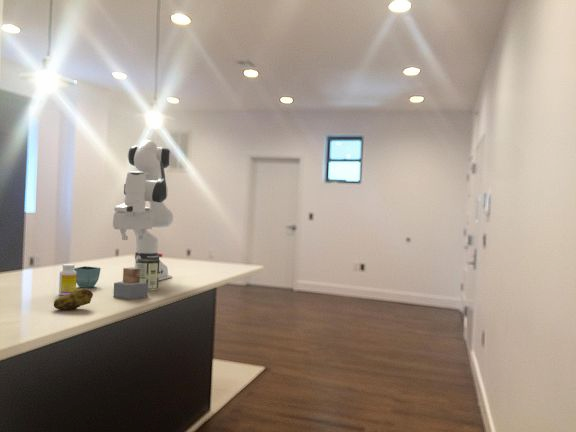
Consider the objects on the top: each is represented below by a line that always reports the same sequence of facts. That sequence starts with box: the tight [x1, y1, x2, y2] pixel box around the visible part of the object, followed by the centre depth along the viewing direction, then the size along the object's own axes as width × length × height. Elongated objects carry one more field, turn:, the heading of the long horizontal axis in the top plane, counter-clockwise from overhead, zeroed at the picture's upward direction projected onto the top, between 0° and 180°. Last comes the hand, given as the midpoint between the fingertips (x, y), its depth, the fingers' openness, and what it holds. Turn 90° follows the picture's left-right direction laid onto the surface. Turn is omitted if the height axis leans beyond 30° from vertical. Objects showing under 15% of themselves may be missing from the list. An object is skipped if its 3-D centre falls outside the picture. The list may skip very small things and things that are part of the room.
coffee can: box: [137, 259, 161, 292], centre depth 235 cm, size 10×10×14 cm
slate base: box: [112, 280, 149, 301], centre depth 214 cm, size 10×10×6 cm
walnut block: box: [122, 266, 140, 283], centre depth 214 cm, size 5×5×6 cm
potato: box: [53, 287, 94, 311], centre depth 184 cm, size 8×13×8 cm, turn 99°
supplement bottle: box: [58, 263, 77, 296], centre depth 211 cm, size 7×7×13 cm
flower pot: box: [74, 266, 102, 289], centre depth 232 cm, size 9×9×9 cm
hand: (133, 239), depth 214 cm, fingers open, 8 cm apart
